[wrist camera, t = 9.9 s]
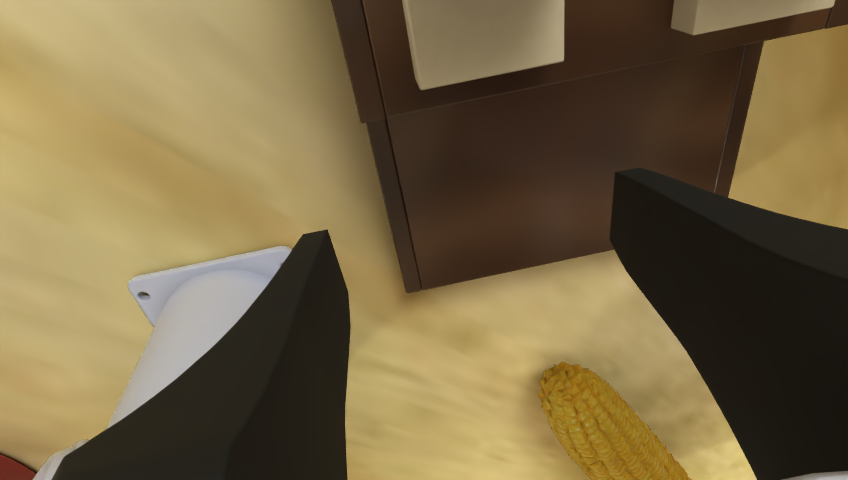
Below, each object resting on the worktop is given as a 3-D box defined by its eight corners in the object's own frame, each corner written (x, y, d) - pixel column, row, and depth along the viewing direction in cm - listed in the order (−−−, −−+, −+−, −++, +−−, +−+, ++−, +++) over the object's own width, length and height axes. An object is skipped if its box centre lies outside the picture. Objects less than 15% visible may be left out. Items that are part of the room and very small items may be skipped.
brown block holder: (695, 205, 26) (772, 267, 21) (401, 267, 25) (414, 344, 21) (801, -362, 14) (1017, -497, 10) (277, -266, 14) (243, -360, 9)
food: (683, 459, 40) (730, 535, 35) (623, 489, 41) (660, 565, 37) (571, 326, 29) (617, 407, 25) (496, 372, 31) (524, 457, 26)
